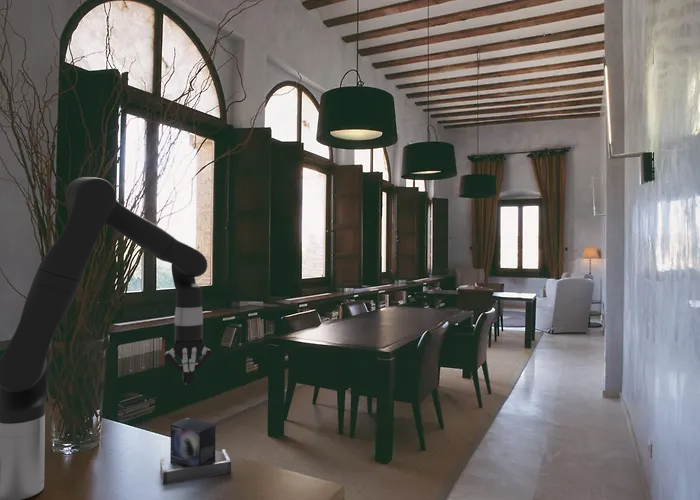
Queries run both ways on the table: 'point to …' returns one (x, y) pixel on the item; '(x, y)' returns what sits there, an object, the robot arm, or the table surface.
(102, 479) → the table surface
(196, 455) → the small box
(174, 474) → the metal bracket
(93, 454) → the table surface
